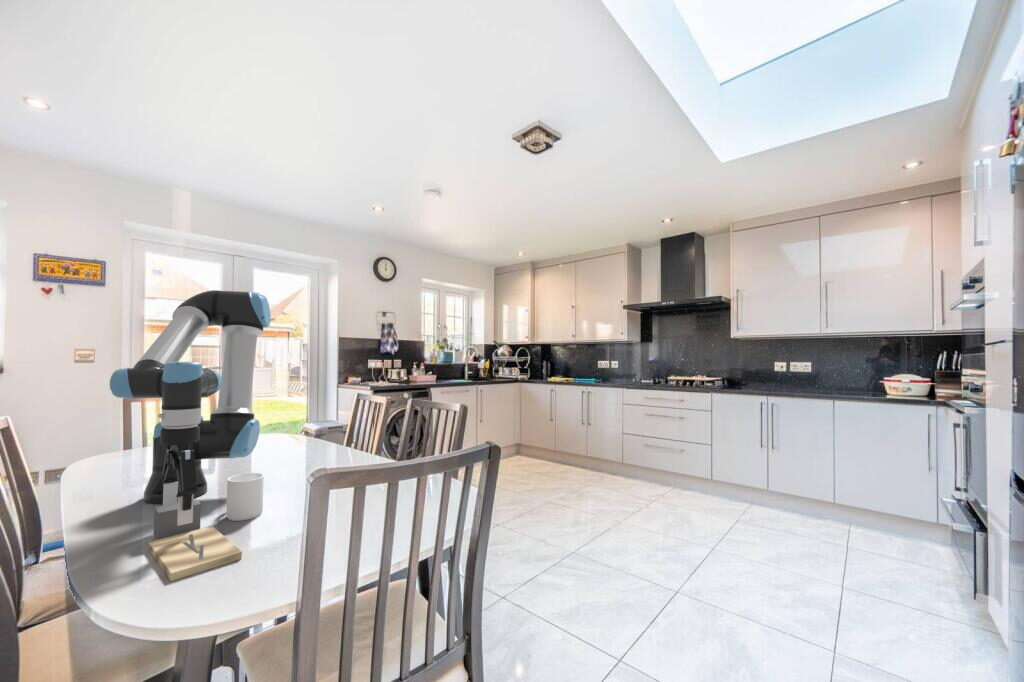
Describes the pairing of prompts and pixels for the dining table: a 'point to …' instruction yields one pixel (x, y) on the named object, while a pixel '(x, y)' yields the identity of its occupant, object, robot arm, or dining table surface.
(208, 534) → the board
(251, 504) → the cup
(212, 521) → the dining table surface
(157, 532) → the block
